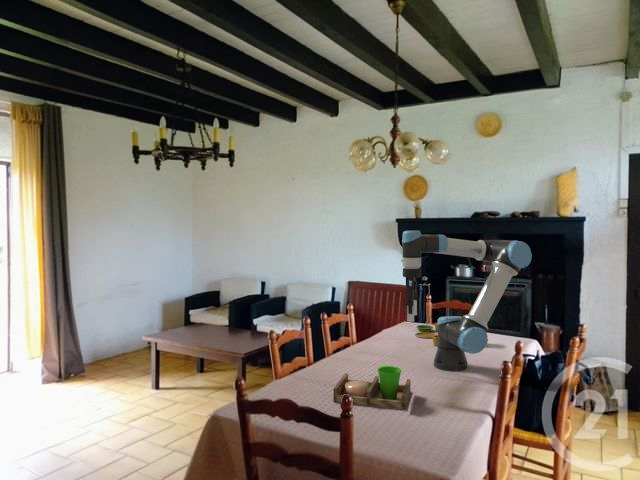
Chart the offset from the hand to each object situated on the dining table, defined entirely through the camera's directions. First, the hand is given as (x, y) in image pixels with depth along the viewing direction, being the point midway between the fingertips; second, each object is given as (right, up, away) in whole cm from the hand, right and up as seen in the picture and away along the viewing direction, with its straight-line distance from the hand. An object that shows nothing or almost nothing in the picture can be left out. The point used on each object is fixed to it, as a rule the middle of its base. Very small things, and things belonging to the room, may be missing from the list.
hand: (412, 318), depth 196 cm
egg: (-25, -26, -18) cm, 40 cm away
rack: (-19, -27, -19) cm, 38 cm away
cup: (-13, -27, -22) cm, 36 cm away
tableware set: (+31, -25, +75) cm, 84 cm away
